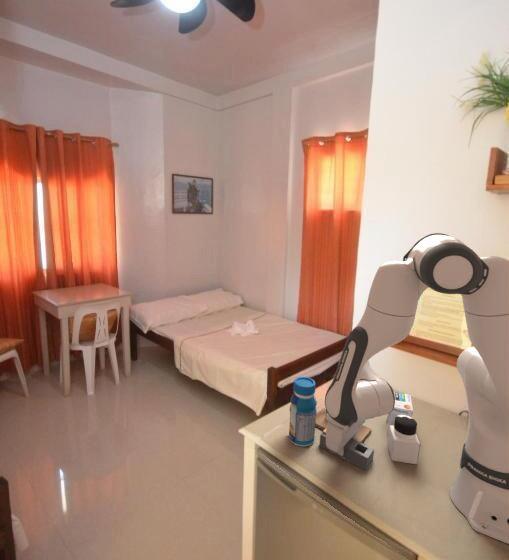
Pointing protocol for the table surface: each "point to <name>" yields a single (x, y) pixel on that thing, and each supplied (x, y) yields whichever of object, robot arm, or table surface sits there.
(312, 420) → the beverage bottle
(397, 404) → the light bulb box
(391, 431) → the medicine bottle
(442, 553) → the table surface
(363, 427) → the board
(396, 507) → the table surface
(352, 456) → the grey block with holes
